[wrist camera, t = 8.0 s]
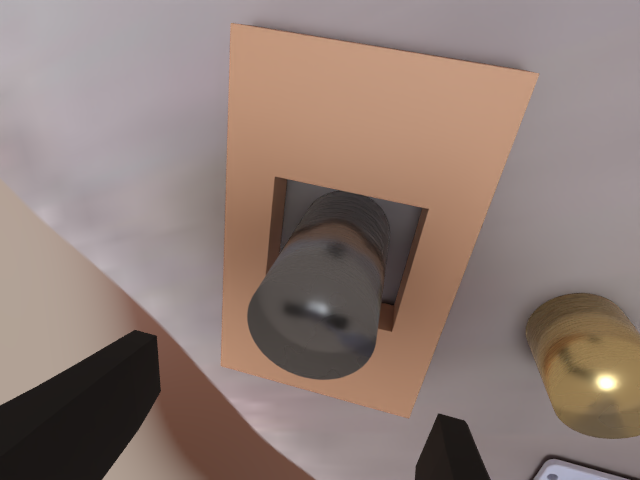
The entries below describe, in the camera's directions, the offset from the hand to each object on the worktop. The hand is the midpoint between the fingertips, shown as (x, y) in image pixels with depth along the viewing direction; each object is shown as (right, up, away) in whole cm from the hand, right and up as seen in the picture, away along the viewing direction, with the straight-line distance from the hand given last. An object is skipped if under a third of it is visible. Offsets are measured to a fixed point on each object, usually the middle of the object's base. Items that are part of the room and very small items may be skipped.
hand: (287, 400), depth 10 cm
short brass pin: (+12, 0, +8) cm, 15 cm away
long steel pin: (+2, +4, +8) cm, 9 cm away
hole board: (+2, +4, +8) cm, 9 cm away
